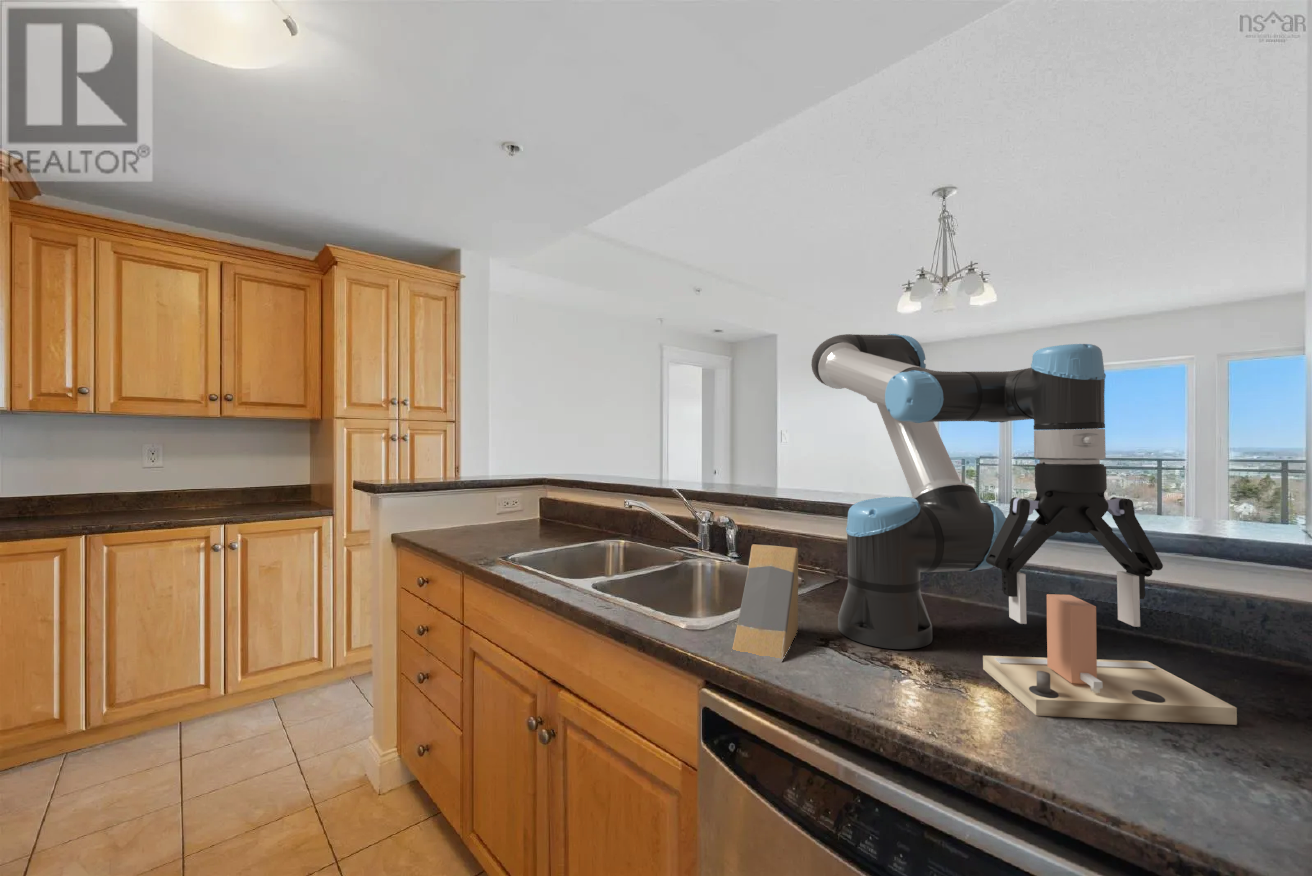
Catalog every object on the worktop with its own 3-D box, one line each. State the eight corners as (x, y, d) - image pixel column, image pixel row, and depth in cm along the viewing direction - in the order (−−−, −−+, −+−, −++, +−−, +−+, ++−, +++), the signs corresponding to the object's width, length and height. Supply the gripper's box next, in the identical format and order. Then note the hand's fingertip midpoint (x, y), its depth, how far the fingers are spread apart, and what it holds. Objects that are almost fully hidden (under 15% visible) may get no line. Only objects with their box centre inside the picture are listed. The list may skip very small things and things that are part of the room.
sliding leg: (1084, 692, 65) (1084, 612, 65) (1047, 666, 73) (1046, 594, 73) (1111, 693, 65) (1110, 612, 65) (1070, 667, 72) (1070, 594, 72)
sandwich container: (728, 656, 84) (727, 562, 84) (752, 624, 98) (751, 543, 98) (783, 665, 80) (782, 566, 80) (799, 630, 94) (798, 547, 94)
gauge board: (1036, 715, 65) (1035, 679, 65) (983, 669, 78) (982, 639, 78) (1236, 724, 62) (1236, 687, 62) (1147, 675, 75) (1147, 644, 75)
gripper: (983, 463, 68) (986, 629, 68) (1198, 462, 65) (1203, 634, 65) (957, 461, 75) (960, 610, 75) (1149, 460, 72) (1153, 614, 72)
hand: (1072, 622), depth 70 cm, fingers open, 13 cm apart
